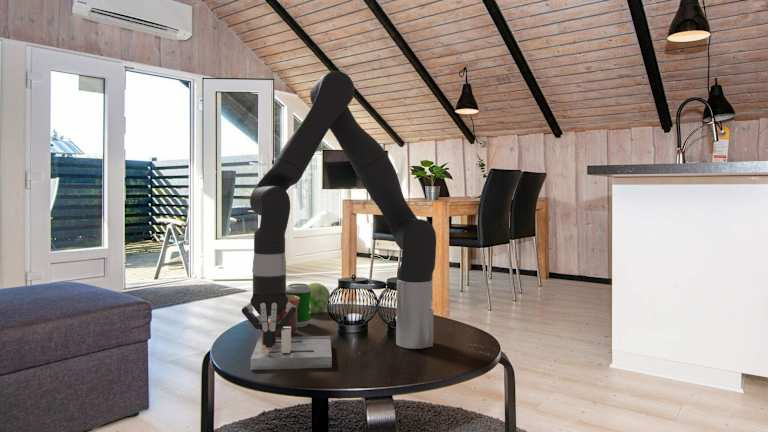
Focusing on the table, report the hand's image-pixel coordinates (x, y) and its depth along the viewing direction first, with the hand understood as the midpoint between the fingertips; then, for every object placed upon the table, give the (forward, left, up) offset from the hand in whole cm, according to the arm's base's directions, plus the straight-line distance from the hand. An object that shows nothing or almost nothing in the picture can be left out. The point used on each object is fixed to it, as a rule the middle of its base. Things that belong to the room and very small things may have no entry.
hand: (269, 346), depth 120 cm
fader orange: (+1, -8, -1) cm, 8 cm away
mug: (-1, -23, -4) cm, 23 cm away
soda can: (-5, -35, -4) cm, 36 cm away
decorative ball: (-10, -50, -4) cm, 51 cm away
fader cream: (-4, 0, -1) cm, 4 cm away
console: (-5, -4, -4) cm, 8 cm away
